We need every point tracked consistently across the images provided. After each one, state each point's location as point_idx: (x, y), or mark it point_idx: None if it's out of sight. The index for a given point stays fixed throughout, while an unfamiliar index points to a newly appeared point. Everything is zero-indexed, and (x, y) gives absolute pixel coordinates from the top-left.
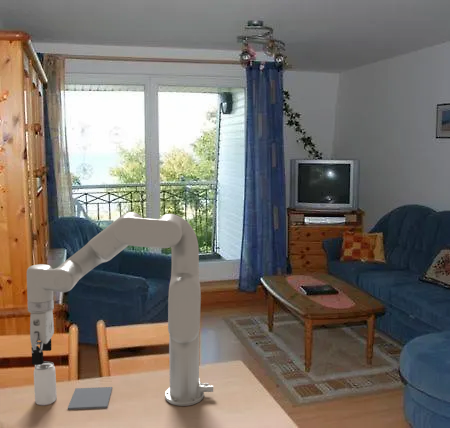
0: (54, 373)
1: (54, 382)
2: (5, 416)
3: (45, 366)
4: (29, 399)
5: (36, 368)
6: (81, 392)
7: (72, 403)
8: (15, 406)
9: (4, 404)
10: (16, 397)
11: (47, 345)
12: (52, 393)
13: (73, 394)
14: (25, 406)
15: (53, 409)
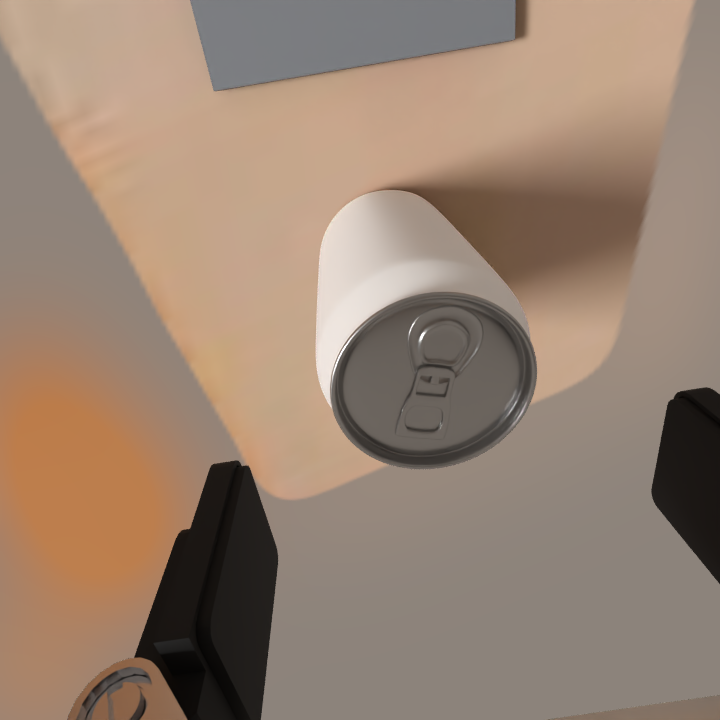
0: (428, 245)
1: (422, 221)
2: (543, 394)
3: (444, 369)
4: None
5: (508, 431)
6: (269, 2)
7: (450, 20)
8: None
9: None
10: None
11: (245, 559)
12: (435, 210)
13: (311, 69)
14: None
15: (495, 159)
